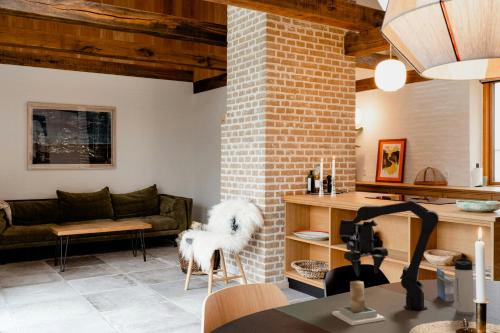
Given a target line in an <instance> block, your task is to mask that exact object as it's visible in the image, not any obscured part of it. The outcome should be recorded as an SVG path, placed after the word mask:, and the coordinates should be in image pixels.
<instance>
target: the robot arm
mask: <svg viewBox="0 0 500 333" xmlns="http://www.w3.org/2000/svg"><path fill="white" fill-rule="evenodd" d="M403 212H411V213H413V215H415V216H416V217H418V218H420V219H421V220H422V221H421V227H420V233H419V237H418V239H417V242H416V245H415V248H414V250H413V254H412V257H411V259H410V260H411V261H410V263H409V265H408V266H403V269H402V274H401V275H400V277H399V279H400V280H401V281H400V284H401V286H402V288H403V289H405V291H406V292H405V295H406V296H405V305H403V308H405V309H408V310H411V311H414V312H417V311H422V310H426V309H427V310H428V307H427V306H425V292H424V291H423V289H424V285H423V284H422V282H420V281H419V280H418V279H419V273H420V266H421V263H422V259H423V256H424V255H425V252H426V249H427V247H428V243H429V240H430V237H431V235H432V233H433V232H434V230H435V228H436V226H437V225H438V222H439V220H440V216H439V213H438V212H436V211H434V210H431V209H430V210H429V209H427V208H426V207H424V206H422V205H421V204H419V203H418V202H417V201H415V200H413V199H412V200H408V201H403V202H398V203H397V202H396V203H392V204H391V203H390V204H385V205H362V206H360V207H359V208H358V209H357V211H356V216H354V218H353V219H352V220H351V219H350V220H349V219H341V220H340V224H339V228H338V230H339V231H338V233H339V235H340V237H355V236H356V235H357V234H358V238H356V240H355V241H356V242H353V241H347V242H346V250H348V251H345V252H344V254H343V258H344V260H346V261H348V262H350V263H351V265H352V267H353V269H354V273H355V275H356V277H360V274H361V266H362V260H360V259H361V258H362V257H369V256H370V257H371V258H372V260H373V261H372V262H373V272H374V274H378V272H379V270H380V268H381V266H382V263H383V262H384V261H385V259H386V257H388V256H389V251H388V249H387V248H385V247H374V243H375V242H376V239H374V229H373V227H377V226H378V223H377V222H376V221H375V220H374V219H375V218H377V217H381V216H386V215H391V214H392V215H393V214H398V213H403ZM370 220H371V221H370ZM362 221H363V223H360V222H362Z"/></svg>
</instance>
